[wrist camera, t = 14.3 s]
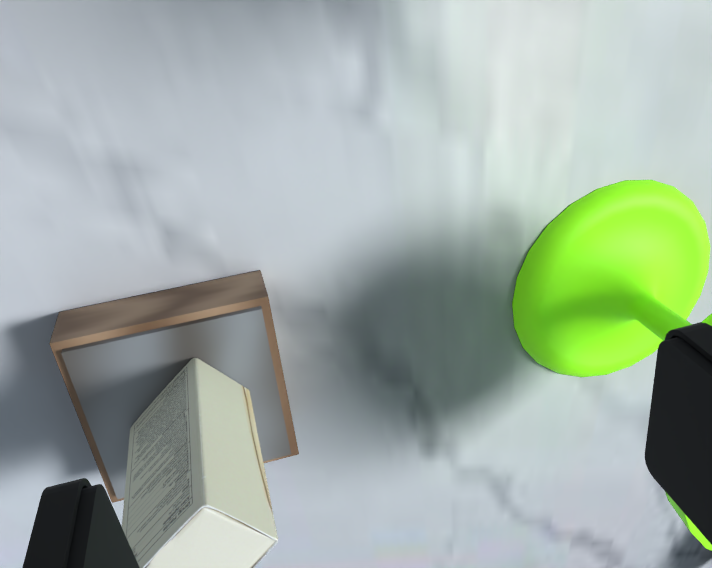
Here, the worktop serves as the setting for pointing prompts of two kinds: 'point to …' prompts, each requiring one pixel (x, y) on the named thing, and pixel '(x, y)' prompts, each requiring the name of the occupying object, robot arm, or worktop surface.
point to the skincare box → (198, 477)
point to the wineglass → (612, 282)
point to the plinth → (170, 361)
